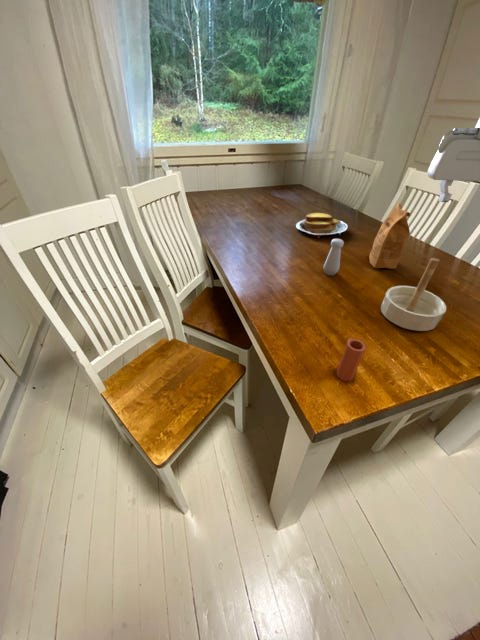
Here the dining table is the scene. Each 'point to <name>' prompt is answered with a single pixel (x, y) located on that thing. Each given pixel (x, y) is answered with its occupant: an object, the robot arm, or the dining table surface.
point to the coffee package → (390, 239)
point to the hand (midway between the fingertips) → (464, 202)
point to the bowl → (423, 314)
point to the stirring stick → (422, 284)
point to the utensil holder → (350, 359)
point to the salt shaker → (333, 257)
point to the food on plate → (321, 224)
